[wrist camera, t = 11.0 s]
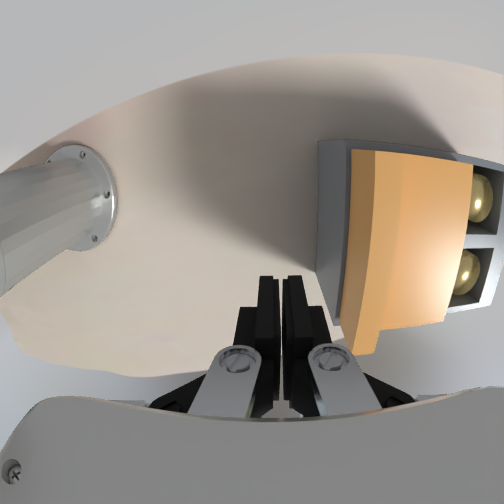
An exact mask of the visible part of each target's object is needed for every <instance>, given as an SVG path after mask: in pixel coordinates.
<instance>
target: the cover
mask: <svg viewBox="0 0 504 504" xmlns="http://www.w3.org/2000/svg"><path fill="white" fill-rule="evenodd" d="M472 178H473V165H472V164H467V163H462V162H457V161H451V160H445V159H439V158H433V157H426V156H419V155H412V154H403V153H395V152H385V151H374V150H361V149H351V199H350V219H349V234H348V247H347V258H346V269H345V278H344V287H343V295H342V302H341V310H340V317H339V323H340V325H341V328H342V331H343V334H344V337H345V339H346V342H347V345H348V348H349V350H350V351H351V353H352V354H353V355H363V354H371V353H374V350H375V346H376V343H377V339H378V335H379V331H380V330H387V329H395V328H403V327H410V326H416V325H423V324H430V323H436V322H442V321H443V320H444V317H445V314H446V311H447V308H448V305H449V302H450V299H451V295H452V292H453V288H454V285H455V281H456V277H457V273H458V269H459V265H460V260H461V256H462V251H463V246H464V241H465V235H466V229H467V223H468V216H469V209H470V200H471V190H472Z"/></svg>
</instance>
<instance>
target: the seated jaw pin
mask: <svg viewBox="0 0 504 504" xmlns="http://www.w3.org/2000/svg"><path fill="white" fill-rule="evenodd" d="M479 273H480V262H479V259H478V258H477V256H475V255H474V254H472V253H471V252H469V251H468V250H466V249H465V248H463V251H462V256H461V260H460V265H459V269H458V273H457V277H456V281H455V285H454V288H453V292H452V293H453V294H455V295H463V294H465V293H467V292H468V291H469V290H470V289H471V288H472V287H473V286H474V284H475V283H476V281H477V279H478V276H479Z"/></svg>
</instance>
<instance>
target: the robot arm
mask: <svg viewBox="0 0 504 504" xmlns="http://www.w3.org/2000/svg"><path fill="white" fill-rule="evenodd" d="M109 192H110V193H109ZM117 201H118V200H117V189H116V185H115V181H114V178H113V175H112V173H111V170H110V168H109V167H108V165H107V163H106V162H105V160H104V159H103V158H102V157H101V156H100V155H99V154H98V153H97V152H95V151H94V150H93V149H91V148H89V147H86V146H84V145H68V146H64V147H61V148H59V149H58V150H56V151H55V152H53V153H52V154H51V155H50V156H49V157H48V159H47V160H46V162H45V163H44V164H39V165H34V166H30V167H25V168H21V169H17V170H13V171H9V172H5V173H1V174H0V297H1V296H2V295H3V294H5V293H6V292H7V291H9V290H10V289H11V288H13V287H14V286H15V285H16V284H18V283H19V282H20V281H22V280H23V279H24V278H26V277H27V276H28V275H30V274H31V273H33V272H34V271H35V270H37V269H38V268H39V267H41V266H42V265H44V264H45V263H47V262H48V261H49V260H51V259H52V258H54V257H55V256H57V255H58V254H60V253H61V252H63V251H64V250H66V249H70V250H73V251H86V250H89V249H92V248H94V247H95V246H97V245H98V244H100V243H101V242H102V241H103V240H104V239H105V238H106V237H107V235H108V234H109V232H110V231H111V229H112V227H113V224H114V222H115V217H116V213H117ZM282 357H283V358H282V359H283V393H284V400H289V405H290V408H293V409H295V410H296V411H297V412H299V413H300V418H263V415H264V414H265V413H266V412H268V411H269V410H270V409H272V408H273V400H279V387H280V360H281V359H280V358H281V323H280V300H279V279H273V276H260V280H259V291H258V303H257V307H240V310H239V316H238V321H237V326H236V332H235V337H234V343H233V346H229V347H226V348H224V349H222V350H221V351H219V352H218V353H217V354H216V356H215V357H214V360H213V362H212V364H211V366H210V368H209V370H208V372H207V373H206V374H204V375H203V376H201V377H199V378H197V379H195V380H193V381H191V382H189V383H187V384H185V385H184V386H182V387H179V388H178V389H175V390H173V391H172V392H170V393H167V394H165V395H163V396H161V397H159V398H157V399H156V400H154V401H153V402H152V403H151V404H146V401H122V400H121V401H120V400H104V399H98V398H91V397H81V396H58V397H52V398H48V399H45V400H42V401H40V402H39V403H37V404H36V405H35V406H34V407H32V409H30V410H29V412H28V413H27V414H26V415H25V416H24V418H23V419H22V420H21V422H20V423H19V424H18V426H17V427H16V428H15V430H14V431H13V433H12V434H11V436H10V437H9V439H8V441H7V442H6V444H5V446H4V447H3V449H2V450H1V452H0V504H504V387H502V386H488V387H478V388H473V389H468V390H463V391H460V392H456V393H451V394H440V395H418V396H417V397H416V399H413V398H412V397H411V396H410V395H408V394H407V393H405V392H403V391H401V390H399V389H396V388H394V387H392V386H390V385H388V384H386V383H384V382H382V381H380V380H378V379H375V378H374V377H372V376H370V375H368V374H366V373H364V372H362V370H361V368H360V366H359V365H358V363H357V361H356V359H355V357H354V355H353V354H352V353H351V351H350V350H349V349H347V348H346V347H344V346H341V345H339V344H333V343H332V341H331V337H330V333H329V330H328V326H327V322H326V319H325V315H324V311H323V308H322V306H308V304H307V299H306V294H305V290H304V285H303V280H302V276H301V275H293V276H288V279H283V293H282Z"/></svg>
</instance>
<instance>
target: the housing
mask: <svg viewBox="0 0 504 504" xmlns="http://www.w3.org/2000/svg"><path fill="white" fill-rule="evenodd" d="M351 149H361V150H374V151H385V152H395V153H403V154H412V155H419V156H426V157H433V158H439V159H445V160H451V161H457V162H462V163H467V164H472V165H473V173H475V174H479V175H482V176H485V177H486V178H487V179H488V180H489V182H490V184H491V186H492V191H493V203H492V207H491V210H490V212H489V214H488V215H487V217H486V218H485V219H484V220H482V221H480V222H472V221H470V220H468V223H467V229H466V235H465V241H464V246H463V248H465V249H466V250H468V251H469V252H471V253H472V254H474V255H475V256H477V258H478V259H479V262H480V273H479V276H478V279H477V281H476V283H475V284H474V286H473V287H472V288H471V289H470V290H469V291H468V292H467V293H465V294H463V295H455V294H453V293H452V295H451V299H450V302H449V305H448V308H447V311H446V313H452V312H458V311H464V310H469V309H474V308H479V307H484V306H489V305H490V304H491V301H492V299H493V296H494V293H495V290H496V286H497V283H498V280H499V276H500V273H501V269H502V265H503V262H504V165H502V164H499V163H495V162H491V161H487V160H483V159H479V158H475V157H471V156H466V155H461V154H457V153H452V152H446V151H441V150H435V149H429V148H423V147H417V146H410V145H402V144H394V143H385V142H375V141H364V140H350V139H341V140H327V141H318V225H317V251H316V270H315V273H316V276H317V279H318V282H319V284H320V287H321V290H322V293H323V296H324V299H325V302H326V305H327V307H328V310H329V313H330V316H331V319H332V322H333V325H334V326H340V323H339V317H340V310H341V302H342V295H343V287H344V278H345V269H346V258H347V247H348V234H349V219H350V199H351Z"/></svg>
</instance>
